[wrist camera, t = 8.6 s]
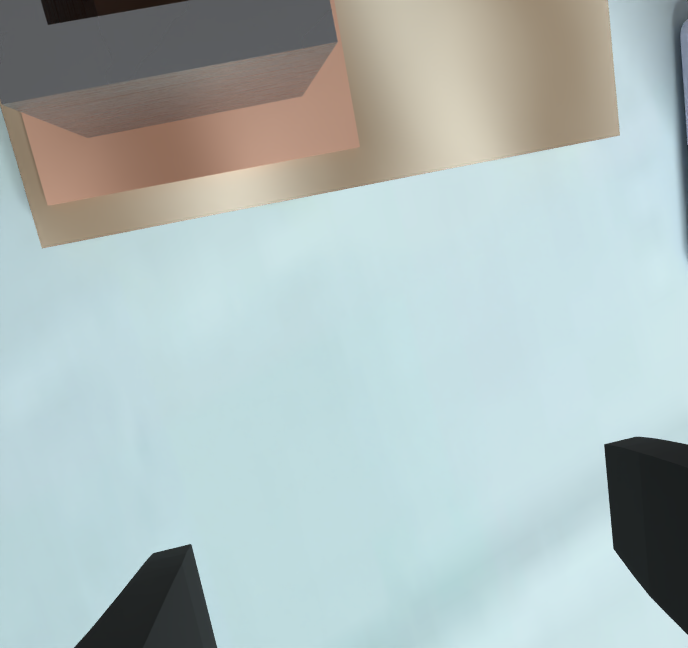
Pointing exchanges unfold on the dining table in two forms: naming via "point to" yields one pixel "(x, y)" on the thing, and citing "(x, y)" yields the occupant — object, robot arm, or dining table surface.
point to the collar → (157, 59)
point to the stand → (341, 116)
